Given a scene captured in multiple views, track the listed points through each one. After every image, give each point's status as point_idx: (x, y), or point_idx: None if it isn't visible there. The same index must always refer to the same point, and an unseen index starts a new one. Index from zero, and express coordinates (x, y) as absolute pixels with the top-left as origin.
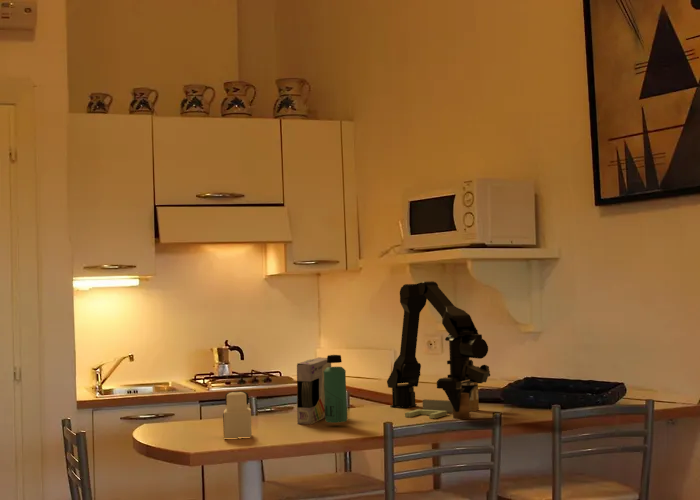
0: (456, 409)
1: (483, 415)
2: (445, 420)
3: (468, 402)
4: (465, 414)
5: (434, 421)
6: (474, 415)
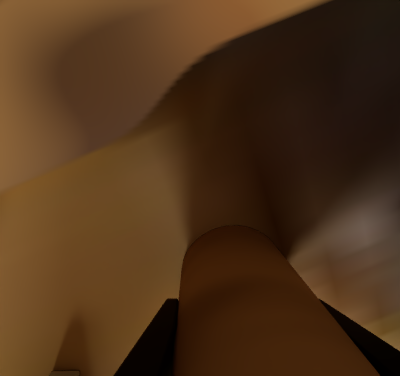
0: None
1: (81, 190)
2: (352, 304)
3: (274, 310)
4: (274, 247)
5: (397, 335)
6: (108, 243)
